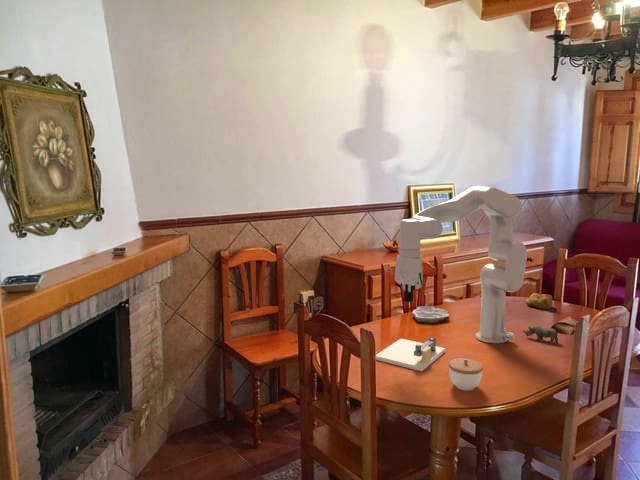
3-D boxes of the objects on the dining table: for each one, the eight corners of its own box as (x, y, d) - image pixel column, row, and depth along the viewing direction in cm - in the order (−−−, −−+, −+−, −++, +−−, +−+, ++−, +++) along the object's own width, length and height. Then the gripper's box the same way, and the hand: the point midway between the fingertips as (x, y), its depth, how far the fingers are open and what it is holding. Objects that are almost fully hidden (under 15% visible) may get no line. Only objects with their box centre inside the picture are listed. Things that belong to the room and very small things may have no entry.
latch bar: (429, 347, 196) (429, 332, 195) (436, 349, 194) (437, 334, 193) (412, 361, 183) (413, 345, 182) (420, 363, 181) (421, 347, 180)
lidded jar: (476, 396, 159) (478, 368, 158) (443, 388, 165) (444, 361, 163) (485, 384, 168) (486, 357, 167) (453, 376, 174) (454, 351, 172)
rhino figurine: (524, 335, 214) (524, 321, 213) (558, 342, 206) (560, 328, 205) (521, 338, 211) (522, 324, 210) (556, 345, 203) (557, 331, 202)
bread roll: (523, 306, 255) (523, 291, 254) (529, 302, 262) (530, 287, 261) (549, 311, 246) (550, 295, 245) (555, 307, 254) (556, 291, 252)
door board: (445, 351, 196) (445, 337, 195) (422, 371, 178) (422, 355, 177) (400, 341, 207) (401, 328, 206) (374, 359, 189) (375, 344, 188)
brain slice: (450, 326, 227) (450, 319, 226) (412, 323, 230) (412, 317, 230) (448, 313, 246) (448, 307, 245) (412, 311, 249) (413, 305, 249)
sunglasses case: (571, 335, 213) (563, 320, 214) (555, 340, 218) (548, 325, 219) (586, 325, 225) (579, 312, 227) (571, 330, 230) (564, 316, 231)
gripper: (387, 251, 188) (386, 299, 191) (419, 257, 176) (417, 307, 179) (400, 249, 192) (400, 295, 195) (432, 254, 181) (431, 303, 184)
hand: (408, 301), depth 187 cm, fingers closed
